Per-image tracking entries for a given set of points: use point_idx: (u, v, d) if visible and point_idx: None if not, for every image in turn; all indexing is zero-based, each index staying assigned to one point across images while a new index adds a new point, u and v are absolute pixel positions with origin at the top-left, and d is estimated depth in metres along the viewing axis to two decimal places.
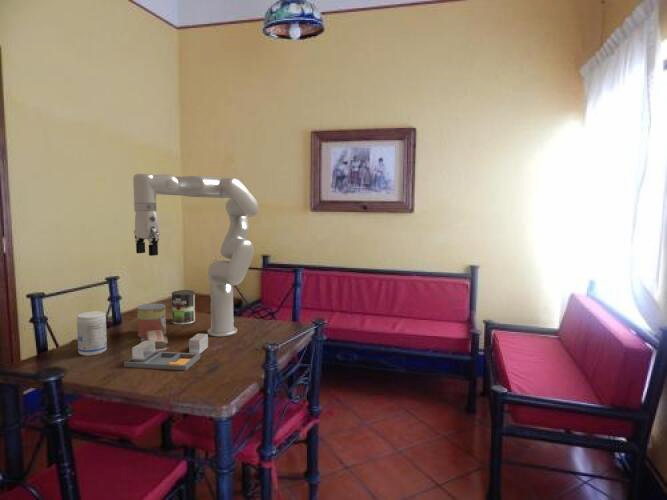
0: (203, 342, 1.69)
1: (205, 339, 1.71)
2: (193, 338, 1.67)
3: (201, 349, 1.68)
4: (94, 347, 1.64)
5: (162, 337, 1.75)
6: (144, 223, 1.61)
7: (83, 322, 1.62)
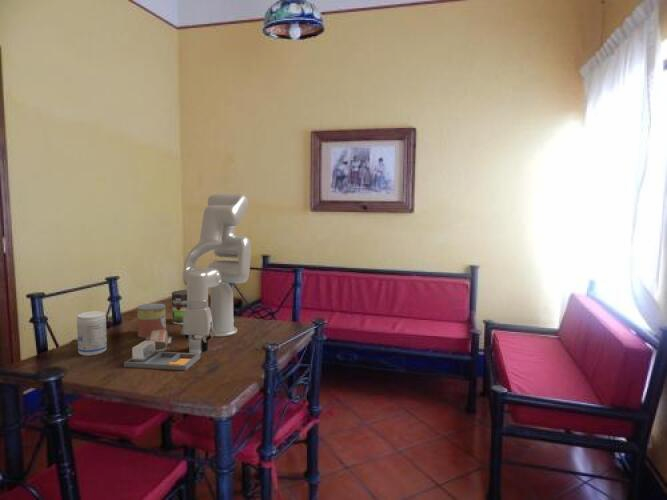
0: None
1: None
2: (193, 338, 1.67)
3: (201, 349, 1.68)
4: (94, 347, 1.64)
5: (164, 337, 1.75)
6: None
7: (83, 322, 1.62)
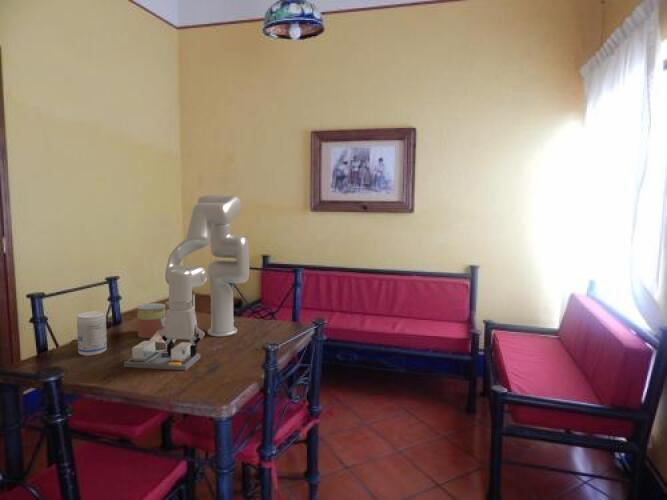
0: (187, 352, 1.55)
1: (189, 349, 1.57)
2: (176, 347, 1.54)
3: (185, 359, 1.54)
4: (94, 347, 1.64)
5: None
6: None
7: (83, 322, 1.62)
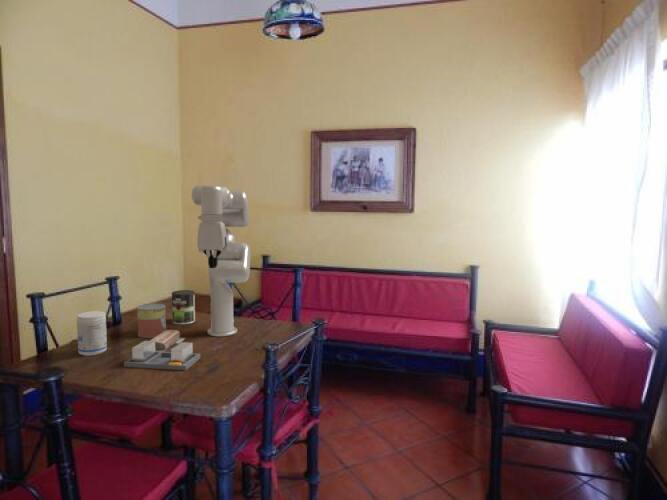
0: (187, 352, 1.55)
1: (189, 349, 1.57)
2: (176, 347, 1.54)
3: (185, 359, 1.54)
4: (94, 347, 1.64)
5: (167, 338, 1.74)
6: None
7: (83, 322, 1.62)
